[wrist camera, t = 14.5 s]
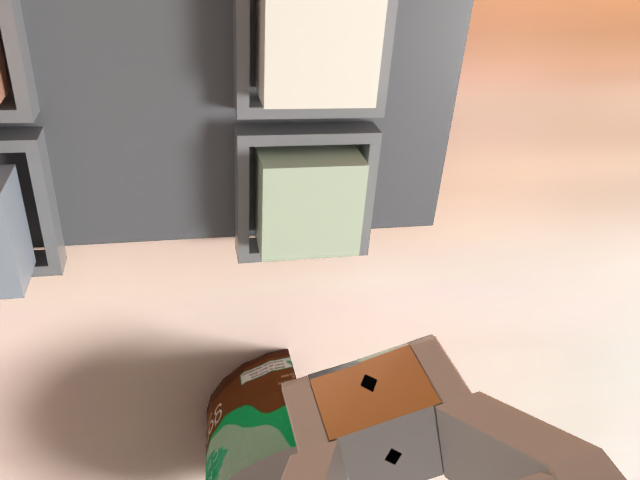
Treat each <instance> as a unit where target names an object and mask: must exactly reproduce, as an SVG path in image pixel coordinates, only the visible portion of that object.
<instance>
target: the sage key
mask: <svg viewBox="0 0 640 480" xmlns="http://www.w3.org/2000/svg"><path fill="white" fill-rule="evenodd" d="M368 172H369V164H368V163H367V161H366V160H365V158H364V157H363V156H362V154H361V153H360V151H359V150H358V148H357V147H356V145H355V144H351V145H310V146H269V147H255V237H256V241H257V245H258V249H259V253H260V257H261V261H262V262H267V261H282V260H298V259H313V258H328V257H344V256H359V252H360V243H361V235H362V226H363V217H364V208H365V199H366V190H367V181H368Z"/></svg>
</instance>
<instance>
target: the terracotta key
mask: <svg viewBox="0 0 640 480" xmlns="http://www.w3.org/2000/svg"><path fill="white" fill-rule="evenodd" d="M9 91H10V85H9V80H8V75H7V70H6V65H5V61H4V56H3V51H2V46H1V41H0V104H1V102H2V101H3V99H4V98H5V96H6V95H7V94H8V92H9Z"/></svg>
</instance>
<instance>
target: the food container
mask: <svg viewBox="0 0 640 480" xmlns="http://www.w3.org/2000/svg"><path fill="white" fill-rule="evenodd" d="M295 379H296V375H295V372H294V369H293V365H292V362H291V358H290V355H289V351H288V349H286V350H281V351H276V352H271V353H267V354H265V355H262V356H260V357H258V358H255V359H253V360H251V361H248V362H246V363H244V364H242V365H241V366H240V367H238V368H237V369H236V370H234V371H233V372H232V373H230V374H229V375H228V376H226V377H225V378H224V379H223V380H222V382H221V383H220V384H219V386H218V387H217V389H216V390H215V391H214V393H213V394H212V395H211V398H210V401H209V405H208V408H207V433H206V480H281V478H282V475H283V473H284V471H285V468H286V466H287V463H288V461H289V458H290V456H291V455H293V454H296V453H298V450H297V446H296V442H295V438H294V434H293V431H292V427H291V423H290V419H289V415H288V411H287V408H286V404H285V400H284V396H283V392H282V384H281V383H284V382H288V381H291V380H295Z"/></svg>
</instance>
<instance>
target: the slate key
mask: <svg viewBox="0 0 640 480" xmlns="http://www.w3.org/2000/svg"><path fill="white" fill-rule="evenodd" d="M35 263H36V259H35V254H34V250H33V245H32V240H31V236H30V231H29V226H28V221H27V217H26V212H25V207H24V203H23V198H22V193H21V189H20V184H19V179H18V175H17V170H16V165H15V164H8V165H0V299H13V298H24V297H25V294H26V290H27V287H28V284H29V281H30V278H31V275H32V272H33V269H34V266H35Z"/></svg>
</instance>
